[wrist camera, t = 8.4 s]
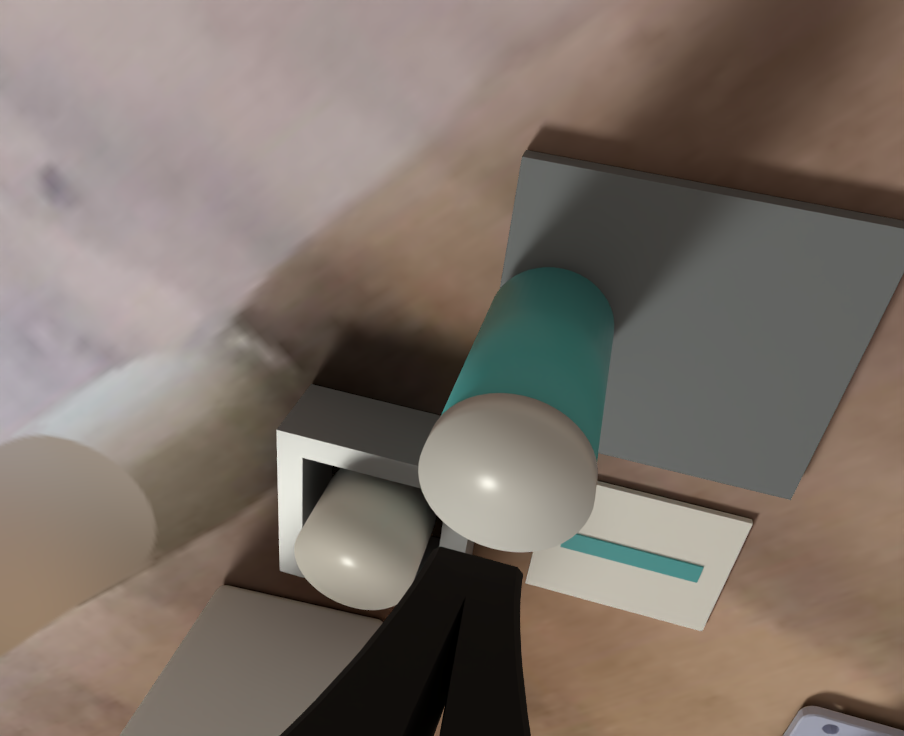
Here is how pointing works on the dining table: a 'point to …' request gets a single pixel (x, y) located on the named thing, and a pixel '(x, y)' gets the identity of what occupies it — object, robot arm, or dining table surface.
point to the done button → (365, 540)
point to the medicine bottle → (250, 666)
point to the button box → (347, 457)
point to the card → (645, 556)
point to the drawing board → (712, 311)
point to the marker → (525, 417)
